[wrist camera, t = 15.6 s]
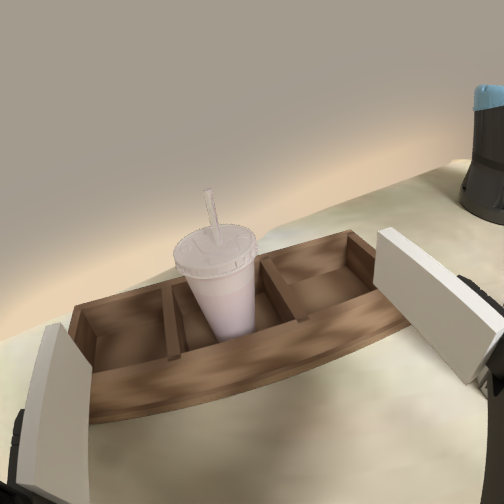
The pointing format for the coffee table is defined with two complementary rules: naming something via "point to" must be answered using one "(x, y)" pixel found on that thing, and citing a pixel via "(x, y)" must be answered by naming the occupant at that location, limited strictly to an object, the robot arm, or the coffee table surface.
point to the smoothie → (221, 274)
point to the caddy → (239, 349)
